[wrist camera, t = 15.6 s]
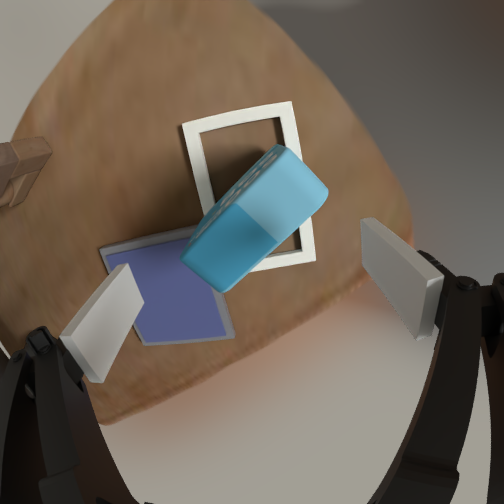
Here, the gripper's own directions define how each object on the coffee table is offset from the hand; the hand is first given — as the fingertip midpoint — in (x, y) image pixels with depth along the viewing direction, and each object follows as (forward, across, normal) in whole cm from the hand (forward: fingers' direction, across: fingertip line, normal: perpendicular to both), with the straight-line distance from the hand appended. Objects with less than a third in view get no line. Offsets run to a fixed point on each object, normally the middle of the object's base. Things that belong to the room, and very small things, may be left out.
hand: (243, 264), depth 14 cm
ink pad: (+18, -13, -11) cm, 25 cm away
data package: (+17, 0, 0) cm, 17 cm away
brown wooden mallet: (+19, -30, +12) cm, 38 cm away
